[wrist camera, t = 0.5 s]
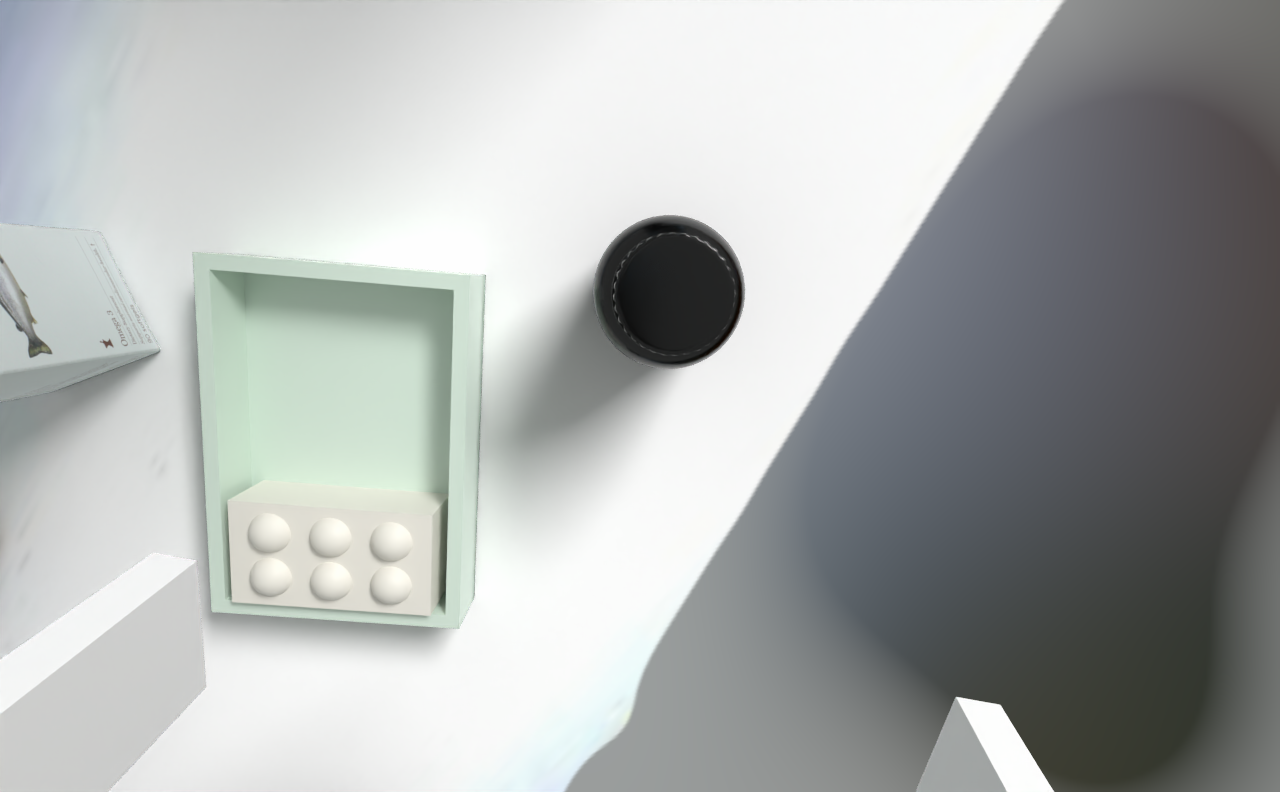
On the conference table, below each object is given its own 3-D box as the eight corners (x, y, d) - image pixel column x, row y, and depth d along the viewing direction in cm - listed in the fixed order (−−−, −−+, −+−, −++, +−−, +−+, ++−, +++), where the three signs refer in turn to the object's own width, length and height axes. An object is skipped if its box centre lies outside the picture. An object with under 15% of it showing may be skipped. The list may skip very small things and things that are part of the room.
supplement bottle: (742, 307, 36) (796, 325, 24) (643, 371, 37) (648, 418, 25) (679, 203, 35) (703, 169, 23) (577, 271, 36) (551, 271, 24)
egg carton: (263, 480, 37) (217, 505, 33) (450, 493, 38) (427, 521, 33) (266, 573, 38) (222, 609, 34) (447, 586, 39) (425, 623, 35)
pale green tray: (235, 254, 35) (192, 252, 32) (485, 275, 36) (469, 275, 32) (248, 582, 39) (211, 612, 36) (474, 597, 40) (459, 628, 36)
